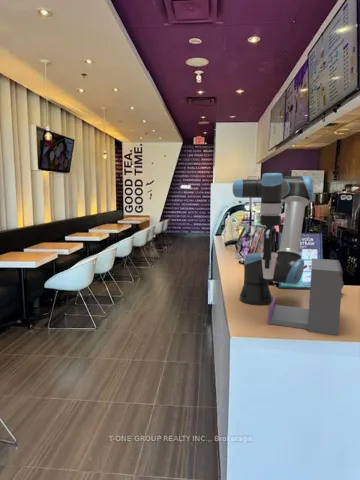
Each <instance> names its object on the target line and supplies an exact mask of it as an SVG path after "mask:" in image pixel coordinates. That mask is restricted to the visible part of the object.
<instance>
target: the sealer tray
mask: <svg viewBox="0 0 360 480" xmlns="http://www.w3.org/2000/svg"><path fill="white" fill-rule="evenodd" d="M308 318H309V308H306V307H298V306H297V307H296V306H288V305H279V304H277V296H273V298H272V302H271V303H270V305H269V307H268V309H267V324H268V325H275V326H277V325H278V326H282V327H283V326H284V327H290V328H292V327H293V328H297V329H306V330H308Z"/></svg>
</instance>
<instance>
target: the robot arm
mask: <svg viewBox="0 0 360 480" xmlns="http://www.w3.org/2000/svg"><path fill="white" fill-rule="evenodd" d="M232 194H233V196H234V197H235V198H240V199H247V198H248V199H256V198H258V199H260V214H261V215H260V217H259V218H260V223H259V224H260V225H261V226H265V230H264V231H263V251H262V252H263V258H262V257H261V253H262V252H252V253H248V254H246V255H245V257H244V265H243V266H244V267H243V268H244V270H243V274H244V275H243V285H242V288H241V291H240V293H239V300H240V302H242V303H244V304H248V305H255V306H256V305H258V306H262V305H263V306H264V305H268V304H271V302H272V300H273V298H272V293H271V290H270V286H269V285H270V284H269V282H274V283H282V284H286V285H287V284H288V285H289V284H291V285H297V284H299V282H300V281H301V279H302V276H303V273H304V268H305V267H304V266H305V260H304V259H302V255H301V254H300V252H299V251H300V246H301V245H300V243H301V237H302V230H303V223H304V217H305V208H306V207H307V206H308V205H309V204H310V201H313V200H314V184H313V179H312V177H311V176H309V175H297V176H296V175H291V176H290V175H288V176H287V175H286V176H285V175H284V176H283V174H282V173H281V172H265V173H263V174H262V175H261V179H260V178H259V179H244V178H241V179H235V180H234V182H233V184H232ZM282 200H283V203H285V204H286V208H285V213H284V220H283V226H282V230H281V231H282V233H281V239H280V244H279V245H280V246H279V249H278V250H276V249H275V248H276V234H277V229H276V228H275V227H276V226H277V227H279V226H281V224H282V216H281V214H282V209H284V205H282ZM271 252H274V253H277V254H278V257H277V258H276V264H275V270H274V276H273V279H264V278H263V276H264V277H271V262H272V260H271ZM262 260H264V272H263V268H262Z"/></svg>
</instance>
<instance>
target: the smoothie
mask: <svg viewBox="0 0 360 480" xmlns="http://www.w3.org/2000/svg"><path fill="white" fill-rule="evenodd" d="M263 252H264V251H262V253H261V257H262V258H263ZM277 257H278V254H277V253H276V252H275V253H274V252H271V260H272V262H271V277H264V276H263V278H264V279H273V276H274V270H275V264H276V258H277ZM262 268H263V272H264V260H262Z"/></svg>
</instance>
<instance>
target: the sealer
mask: <svg viewBox="0 0 360 480" xmlns="http://www.w3.org/2000/svg"><path fill="white" fill-rule="evenodd" d="M343 274H344V271H343V268H342V266H341V262H340V260H338V259H329V258H327V259H325V258H311V270H310V286H309V287H310V288H309V300H308V301H309V306H308V309H309V318H308V329H307V332H310V333H316V334H324V335H330V336H331V335H332V336H339V330H340V329H339V328H340V316H341V315H340V313H341V303H342V302H341V300H342V290H343V288H342V280H343V276H344V275H343Z"/></svg>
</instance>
